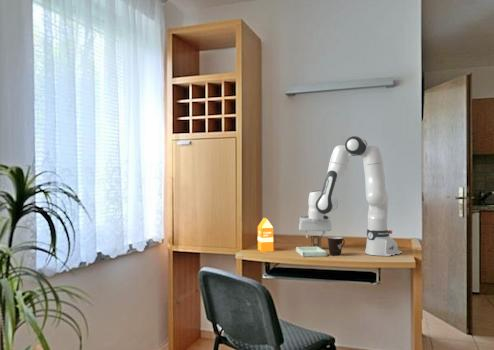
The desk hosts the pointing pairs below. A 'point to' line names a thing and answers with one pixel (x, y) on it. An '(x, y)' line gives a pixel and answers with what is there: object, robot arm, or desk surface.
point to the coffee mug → (335, 245)
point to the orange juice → (265, 236)
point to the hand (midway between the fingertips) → (314, 238)
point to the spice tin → (317, 241)
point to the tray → (311, 251)
